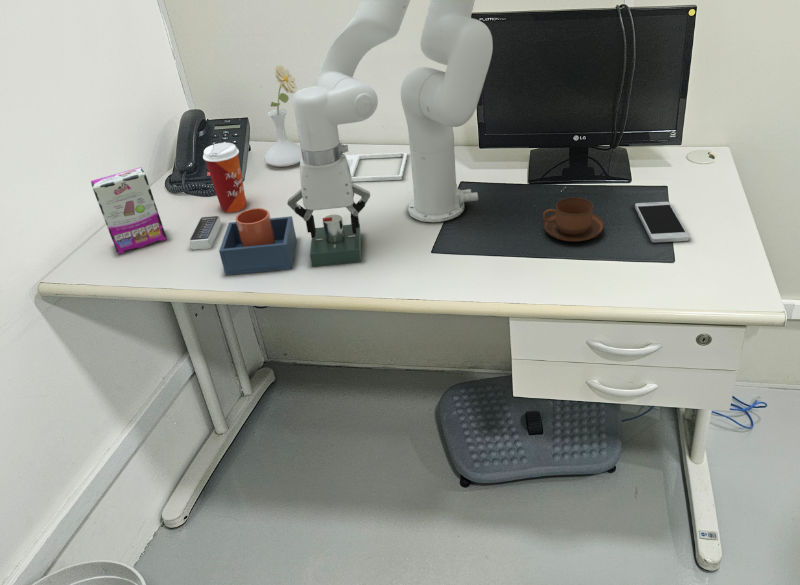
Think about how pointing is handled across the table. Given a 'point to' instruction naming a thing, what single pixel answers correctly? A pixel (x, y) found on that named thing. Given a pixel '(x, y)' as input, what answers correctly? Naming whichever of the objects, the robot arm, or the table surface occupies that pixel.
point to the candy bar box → (129, 210)
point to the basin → (259, 250)
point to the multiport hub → (205, 233)
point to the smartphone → (661, 222)
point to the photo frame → (354, 159)
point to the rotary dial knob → (333, 228)
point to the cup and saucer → (573, 220)
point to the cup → (255, 227)
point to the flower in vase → (283, 126)
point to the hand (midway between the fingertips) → (334, 232)
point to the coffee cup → (226, 175)
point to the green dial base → (336, 248)
